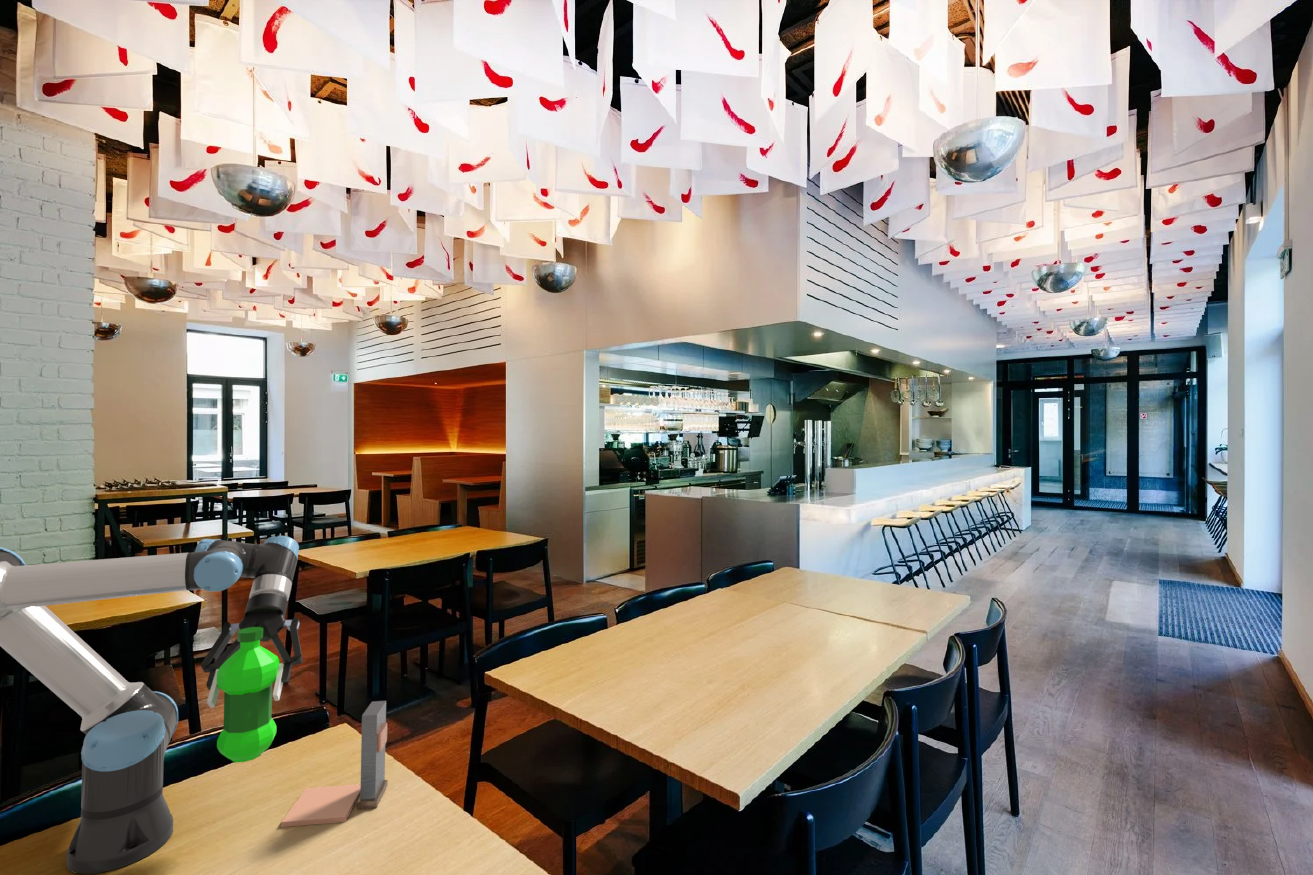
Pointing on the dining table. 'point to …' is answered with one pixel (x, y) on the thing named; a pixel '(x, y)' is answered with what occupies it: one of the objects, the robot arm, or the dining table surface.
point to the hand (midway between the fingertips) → (243, 701)
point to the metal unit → (373, 755)
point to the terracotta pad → (323, 805)
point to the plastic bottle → (247, 698)
